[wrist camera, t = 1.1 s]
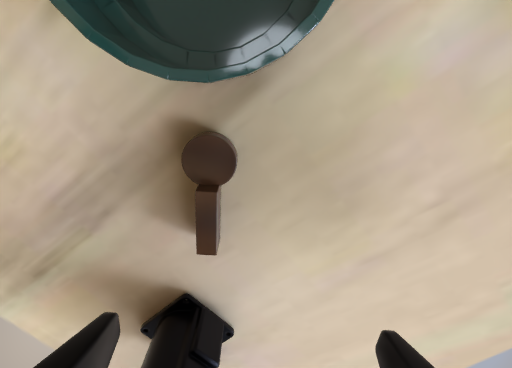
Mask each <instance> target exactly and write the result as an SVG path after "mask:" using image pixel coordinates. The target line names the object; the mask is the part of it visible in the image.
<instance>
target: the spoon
mask: <svg viewBox="0 0 512 368" xmlns="http://www.w3.org/2000/svg"><path fill="white" fill-rule="evenodd" d="M182 166H183V169H184V171H185V173H186V174H187V176H188V177H189V178H190V179H191V180H192V181H193V182H195V183H197V184H199V185H198V187H197V189H196V191H195V202H196V249H197V254H200V255H217V251H218V246H219V241H220V216H221V185H223V184H225V183H226V182H228V181H229V180H230V179H231V178H232V176H233V175H234V173H235V170H236V166H237V152H236V149H235V147H234V145H233V144H232V143H231V141H230V140H229V139H227V138H226V137H225V136H223V135H221V134H218V133H214V132H204V133H201V134H198V135H196V136H195V137H194V138H192V139H191V140H190V141H189V142H188V143H187V145H186V146H185V148H184V150H183V153H182Z"/></svg>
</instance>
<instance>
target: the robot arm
mask: <svg viewBox="0 0 512 368" xmlns="http://www.w3.org/2000/svg"><path fill="white" fill-rule="evenodd" d="M185 299H187V300H185ZM141 332H142V333H143V334H144V335H146V336H147V337H149V338H150V339H152V341H151V343H150V346H149V348H148V351H147V354H146V356H145V359H144V361H143V364H142V366H141V368H218V367H219V362H220V354H221V346H222V343H223V342H225V341H226V340H228V339H230V338H231V337H232V336H233V335H234V329H233V328H232V327H231V326H229V325H228V324H227V323H226V322H224V321H223V320H222V319H220V318H219V317H218V316H217V315H215V314H214V313H213V312H212V311H210V310H209V309H208V308H206V307H205V306H204V305H203V304H201V303H200V302H199V301H198V300H196V299H195V298H194V297H193V296H191V295H190V294H183V295H182V296H181V297H179V298H178V299H176V300H175V301H174V302H172V303H171V304H170V305H168V306H167V307H166V308H164V309H163V310H162V311H160V312H159V313H158V314H156V315H155V316H153V317H152V318H151V319H149V320H148V321H147V322H145V323H144V324H143V325H142V327H141ZM119 336H120V324H119V316H118V314H117V313H113V312H105V313H103V314H101V315H100V316H99V317H97V318H96V319H95V320H94V321H92V322H91V323H90V324H88V325H87V326H86V327H85V328H83V329H82V330H81V331H80V332H78V333H77V334H76V335H74V336H73V337H72V338H71V339H69V340H68V341H67V342H65V343H64V344H63V345H62V346H60V347H59V348H58V349H57V350H55V351H54V352H53V353H51V354H50V355H49V356H48V357H46V358H45V359H44V360H42V361H41V362H40V363H39V364H37V365H36V366H35V367H34V368H108V366H109V363H110V360H111V358H112V355H113V352H114V350H115V347H116V344H117V342H118V339H119ZM376 356H377V359H378V363H379V367H380V368H435V367H433V366H432V365H431V364H430V363H429V362H428V361H427V360H426V359H425V358H424V357H423V356H421V355H420V354H419V353H418V352H417V351H416V350H415V349H414V348H413V347H412V346H411V345H410V344H408V343H407V342H406V341H405V340H404V339H403V338H402V337H401V336H400V335H399V334H398V333H396V332H395V331H390V330H383V331H382V332H381V334H380V336H379V339H378V341H377V344H376Z"/></svg>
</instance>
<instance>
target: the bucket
mask: <svg viewBox="0 0 512 368" xmlns="http://www.w3.org/2000/svg"><path fill="white" fill-rule="evenodd" d="M50 1H51V3H52V4H53V5H54V6H55V7H56V8H57V9H58V10H59V11H60V12H61V13H62V14H63V15H64V16H65V17H66V18H67V19H68V20H69V21H70V22H71V23H72V24H73V25H74V26H75V27H76V28H77V29H78V30H79V31H80V32H81V33H82V34H83V35H84V36H85V37H86V38H87V39H88V40H89V41H90V42H92V43H94V44H95V45H97V46H98V47H100V48H101V49H103V50H104V51H106V52H107V53H109V54H110V55H112V56H113V57H115V58H116V59H118V60H120V61H121V62H123V63H124V64H126V65H128V66H130V67H133V68H135V69H138V70H141V71H144V72H147V73H150V74H152V75H155V76H158V77H161V78H164V79H167V80H174V81H188V82H202V83H212V82H217V81H223V80H228V79H233V78H238V77H242V76H247V75H250V74H253V73H255V72H256V71H258V70H260V69H262V68H264V67H266V66H268V65H270V64H272V63H273V62H275V61H277V60H278V59H280V58H281V57H283V56H284V55H285V54H287V53H288V52H289V51H290V50H291V49H292V48H293V47H294V46H295V45H297V44H298V43H299V42H300V41H301V40H302V39H303V38H304V37H305V36H306V35H307V34H308V33H309V32H310V31H311V30H313V29H314V28H315V27H316V26H317V25H318V24H319V22H320V21H321V20H322V18H323V17H324V15H325V14H326V12H327V11H328V9H329V8H330V6H331V5H332V3H333V2H334V0H50Z"/></svg>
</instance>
